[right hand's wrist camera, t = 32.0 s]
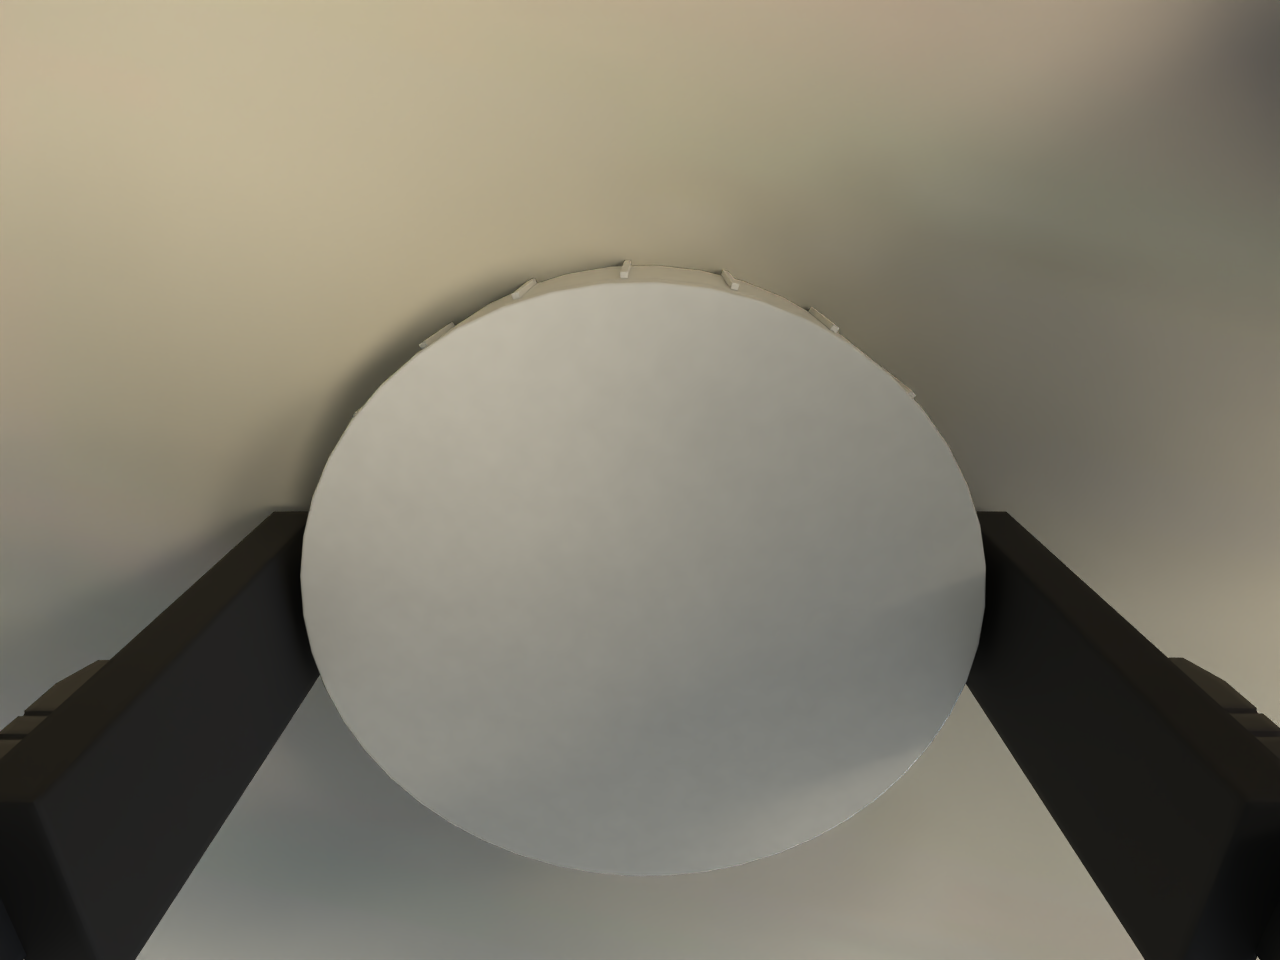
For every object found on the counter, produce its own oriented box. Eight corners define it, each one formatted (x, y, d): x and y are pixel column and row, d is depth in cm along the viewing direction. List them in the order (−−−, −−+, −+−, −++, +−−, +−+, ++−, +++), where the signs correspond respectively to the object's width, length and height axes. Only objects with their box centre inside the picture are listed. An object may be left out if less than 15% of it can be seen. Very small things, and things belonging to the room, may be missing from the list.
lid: (585, 861, 17) (575, 957, 15) (225, 494, 13) (147, 551, 11) (1037, 628, 14) (1103, 704, 12) (728, 110, 11) (746, 93, 9)
